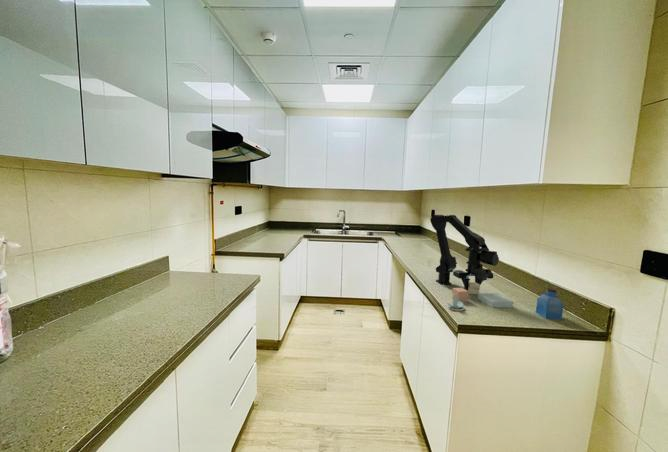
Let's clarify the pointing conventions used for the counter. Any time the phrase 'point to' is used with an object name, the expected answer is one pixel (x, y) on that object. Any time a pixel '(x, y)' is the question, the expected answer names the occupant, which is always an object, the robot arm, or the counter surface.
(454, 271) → the robot arm
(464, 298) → the terracotta cube
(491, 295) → the blue-grey slab
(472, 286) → the birch cube
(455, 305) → the pacifier
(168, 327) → the counter surface
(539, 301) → the perfume bottle
